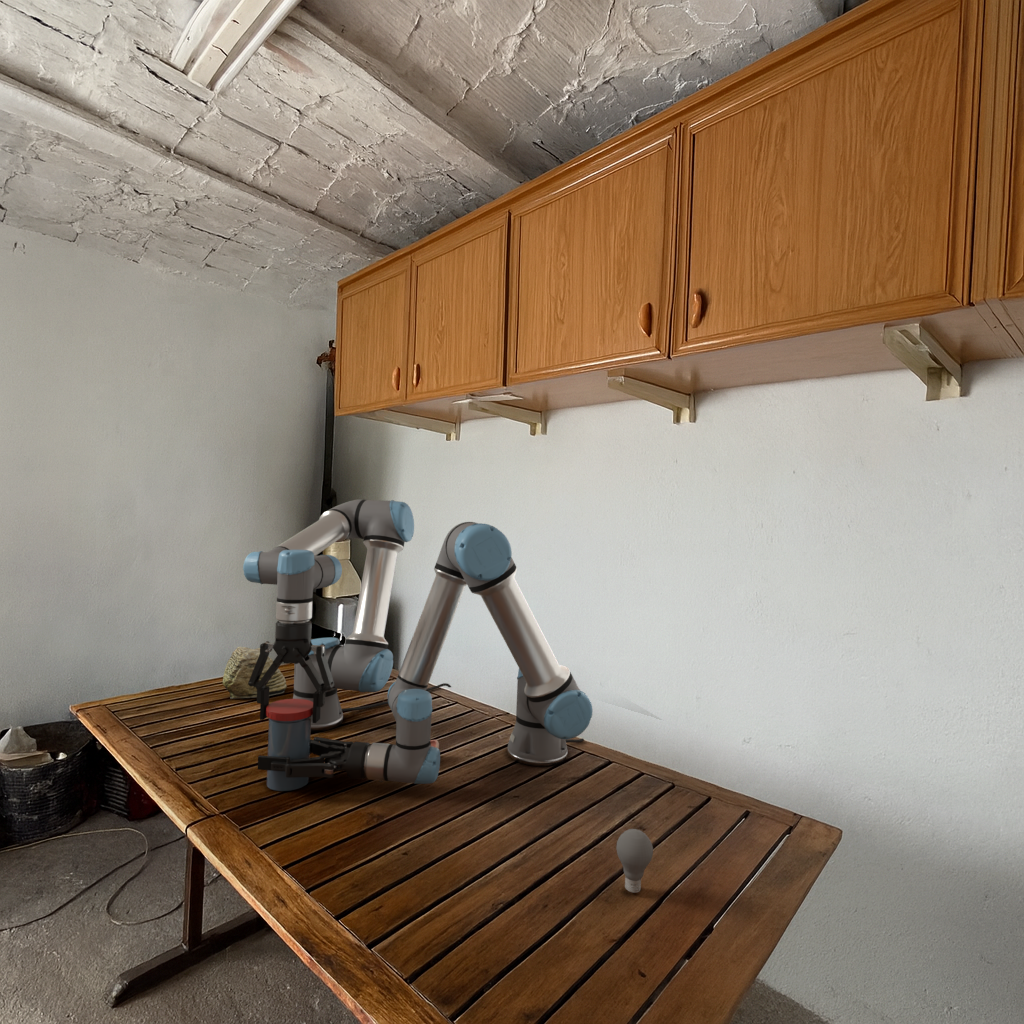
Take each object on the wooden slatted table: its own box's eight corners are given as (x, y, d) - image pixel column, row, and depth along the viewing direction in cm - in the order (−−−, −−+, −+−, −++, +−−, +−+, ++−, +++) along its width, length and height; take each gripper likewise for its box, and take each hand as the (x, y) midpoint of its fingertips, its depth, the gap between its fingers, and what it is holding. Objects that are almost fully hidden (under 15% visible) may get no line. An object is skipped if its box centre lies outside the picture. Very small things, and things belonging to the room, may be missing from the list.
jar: (288, 794, 134) (291, 719, 134) (257, 785, 138) (260, 712, 137) (317, 778, 142) (320, 707, 142) (287, 770, 146) (289, 701, 145)
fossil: (218, 695, 195) (220, 647, 195) (278, 685, 208) (279, 640, 207) (228, 703, 189) (230, 653, 188) (289, 692, 201) (290, 645, 201)
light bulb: (610, 879, 108) (613, 822, 108) (644, 879, 109) (647, 822, 109) (619, 902, 102) (622, 840, 102) (655, 901, 103) (658, 840, 103)
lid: (287, 724, 133) (287, 716, 133) (255, 714, 138) (256, 707, 138) (324, 712, 141) (324, 704, 141) (293, 702, 147) (293, 695, 147)
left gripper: (233, 620, 136) (229, 722, 136) (341, 626, 135) (337, 728, 135) (249, 614, 144) (246, 710, 144) (351, 619, 143) (347, 716, 143)
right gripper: (352, 801, 128) (244, 792, 129) (381, 758, 149) (288, 751, 151) (353, 764, 128) (245, 756, 129) (382, 726, 149) (289, 720, 151)
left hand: (290, 719), depth 140 cm, fingers open, 11 cm apart
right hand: (268, 753), depth 140 cm, fingers closed on jar, 9 cm apart
